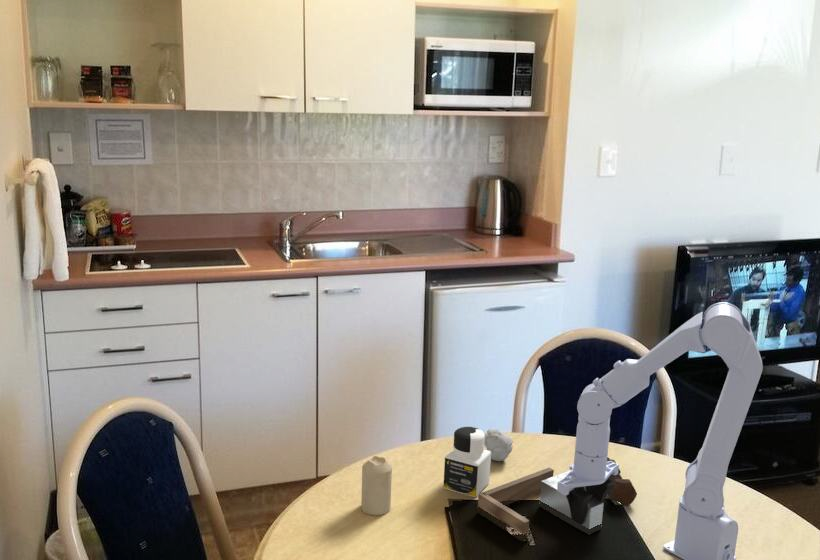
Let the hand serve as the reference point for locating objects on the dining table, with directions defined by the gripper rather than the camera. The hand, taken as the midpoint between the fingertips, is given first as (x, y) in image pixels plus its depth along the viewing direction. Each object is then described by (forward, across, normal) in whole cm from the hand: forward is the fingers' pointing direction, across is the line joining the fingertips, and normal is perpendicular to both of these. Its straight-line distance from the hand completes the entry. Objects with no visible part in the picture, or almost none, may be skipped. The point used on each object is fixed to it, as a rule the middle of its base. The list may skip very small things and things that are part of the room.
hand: (584, 518), depth 141 cm
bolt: (+2, -17, -7) cm, 18 cm away
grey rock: (+2, -5, -28) cm, 29 cm away
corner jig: (+2, +4, -9) cm, 9 cm away
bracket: (+2, -3, -3) cm, 5 cm away
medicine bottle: (+2, +8, -24) cm, 25 cm away
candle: (+2, +28, -26) cm, 39 cm away
